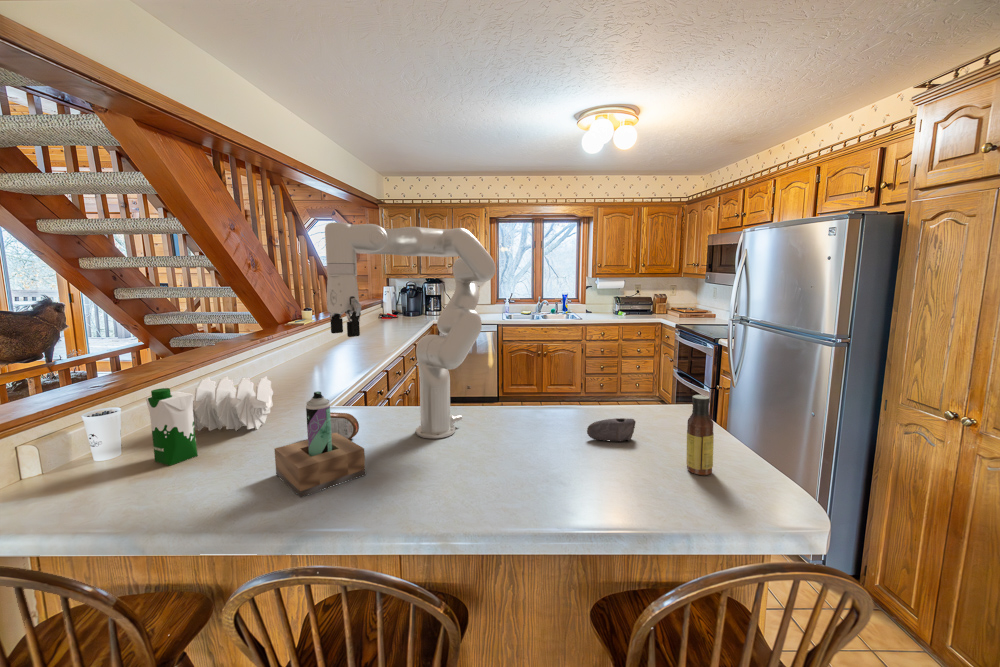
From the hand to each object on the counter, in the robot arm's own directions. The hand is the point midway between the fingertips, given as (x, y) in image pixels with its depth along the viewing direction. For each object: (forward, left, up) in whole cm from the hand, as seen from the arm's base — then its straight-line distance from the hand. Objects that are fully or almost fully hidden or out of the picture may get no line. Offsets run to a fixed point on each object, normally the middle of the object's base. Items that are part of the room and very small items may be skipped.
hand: (345, 334), depth 117 cm
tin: (-2, -15, -35) cm, 38 cm away
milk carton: (+35, -32, -34) cm, 59 cm away
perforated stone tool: (-62, +46, -35) cm, 84 cm away
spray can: (+11, +6, -33) cm, 35 cm away
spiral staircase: (+18, -48, -35) cm, 62 cm away
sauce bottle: (-59, +73, -34) cm, 100 cm away
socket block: (+11, +6, -34) cm, 37 cm away
